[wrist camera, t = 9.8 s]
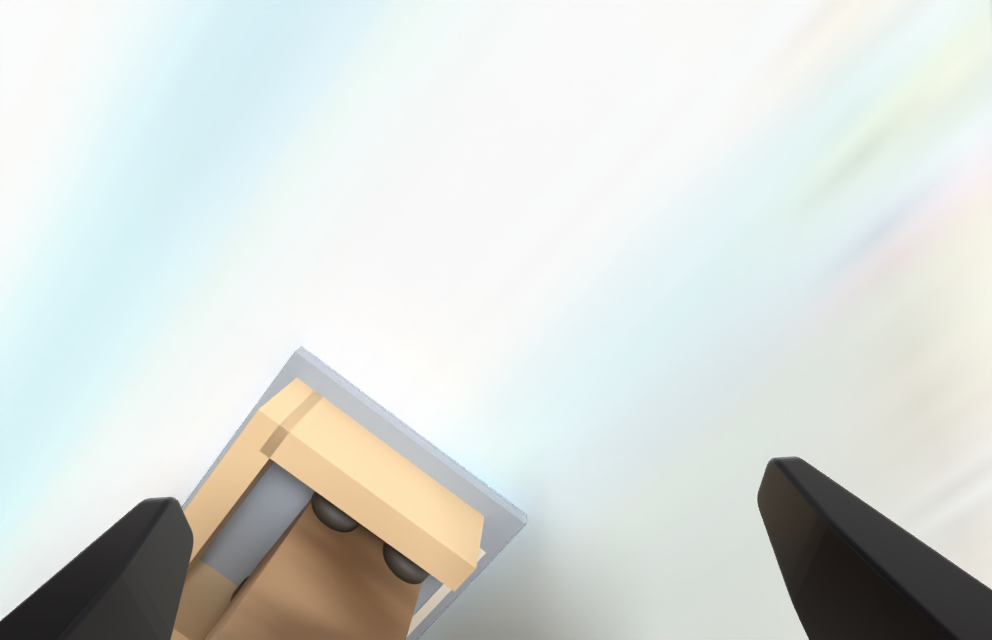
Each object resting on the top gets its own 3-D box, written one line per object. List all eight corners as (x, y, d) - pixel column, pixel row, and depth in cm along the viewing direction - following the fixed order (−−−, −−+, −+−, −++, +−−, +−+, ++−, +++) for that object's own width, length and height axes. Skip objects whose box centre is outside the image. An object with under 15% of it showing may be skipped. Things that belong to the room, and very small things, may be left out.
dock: (526, 515, 23) (524, 576, 19) (354, 697, 25) (325, 781, 22) (301, 346, 22) (255, 379, 18) (148, 556, 24) (83, 620, 21)
